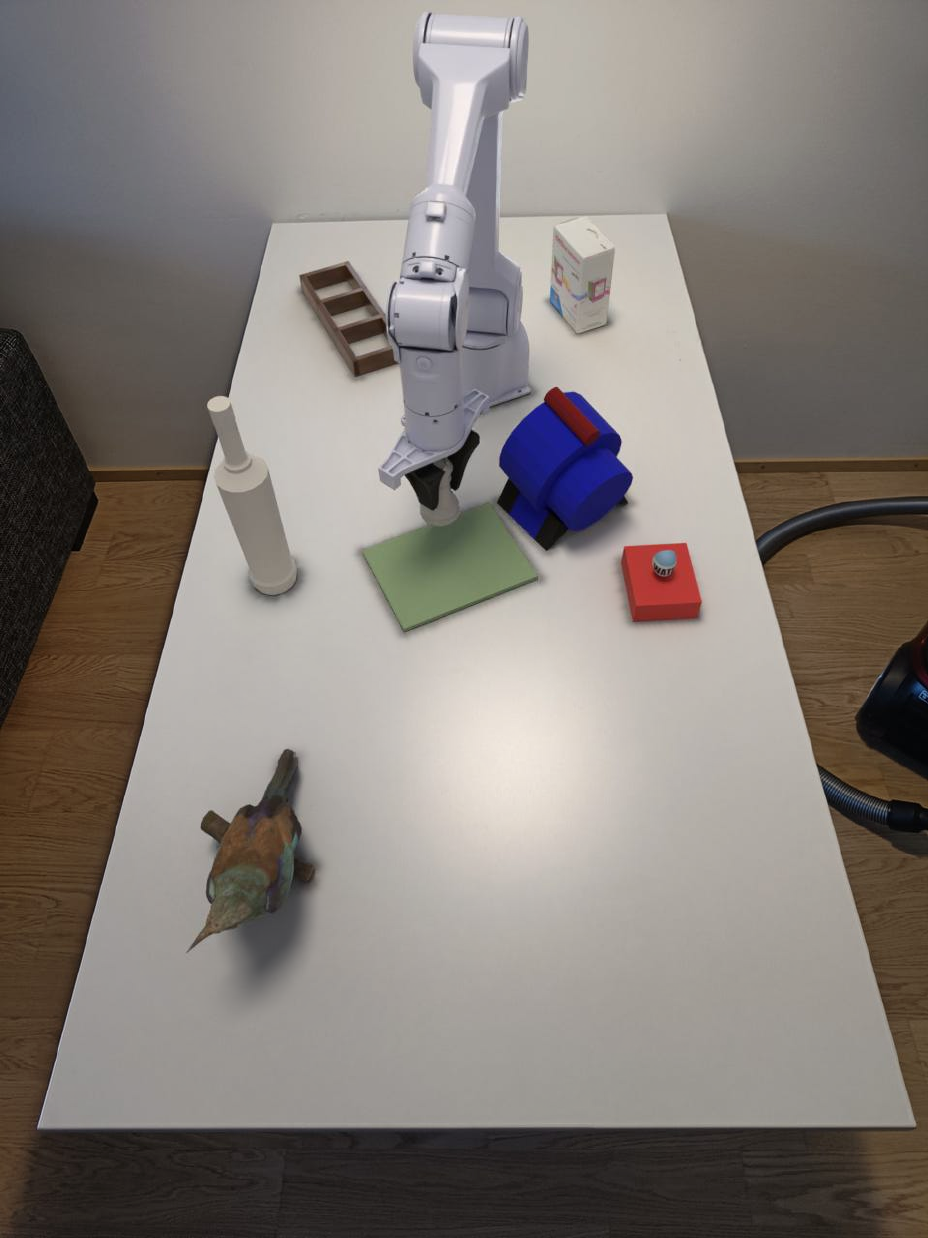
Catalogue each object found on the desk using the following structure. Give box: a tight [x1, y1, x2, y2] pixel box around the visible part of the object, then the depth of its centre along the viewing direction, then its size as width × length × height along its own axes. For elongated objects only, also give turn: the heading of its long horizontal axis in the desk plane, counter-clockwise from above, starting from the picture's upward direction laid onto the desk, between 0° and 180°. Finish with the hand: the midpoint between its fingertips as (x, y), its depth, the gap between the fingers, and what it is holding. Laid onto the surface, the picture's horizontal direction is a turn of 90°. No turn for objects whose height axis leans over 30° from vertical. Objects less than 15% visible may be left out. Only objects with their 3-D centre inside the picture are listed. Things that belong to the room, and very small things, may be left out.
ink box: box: [549, 215, 616, 334], centre depth 119 cm, size 9×5×12 cm, turn 25°
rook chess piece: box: [419, 457, 461, 526], centre depth 94 cm, size 4×4×8 cm
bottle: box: [206, 395, 298, 596], centre depth 87 cm, size 5×5×25 cm
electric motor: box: [496, 386, 634, 551], centre depth 97 cm, size 12×12×15 cm
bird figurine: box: [186, 748, 315, 954], centre depth 75 cm, size 13×10×20 cm
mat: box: [361, 502, 539, 633], centre depth 98 cm, size 16×12×1 cm
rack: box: [298, 260, 399, 378], centre depth 122 cm, size 8×21×2 cm, turn 25°
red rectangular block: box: [620, 542, 703, 622], centre depth 93 cm, size 8×7×6 cm
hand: (439, 494), depth 95 cm, fingers closed on rook chess piece, 3 cm apart
